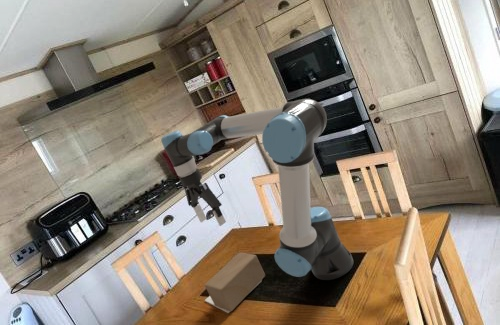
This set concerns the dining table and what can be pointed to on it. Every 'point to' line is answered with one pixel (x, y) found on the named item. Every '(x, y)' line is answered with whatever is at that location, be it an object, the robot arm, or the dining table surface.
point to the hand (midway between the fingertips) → (212, 222)
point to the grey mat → (219, 307)
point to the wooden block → (235, 281)
